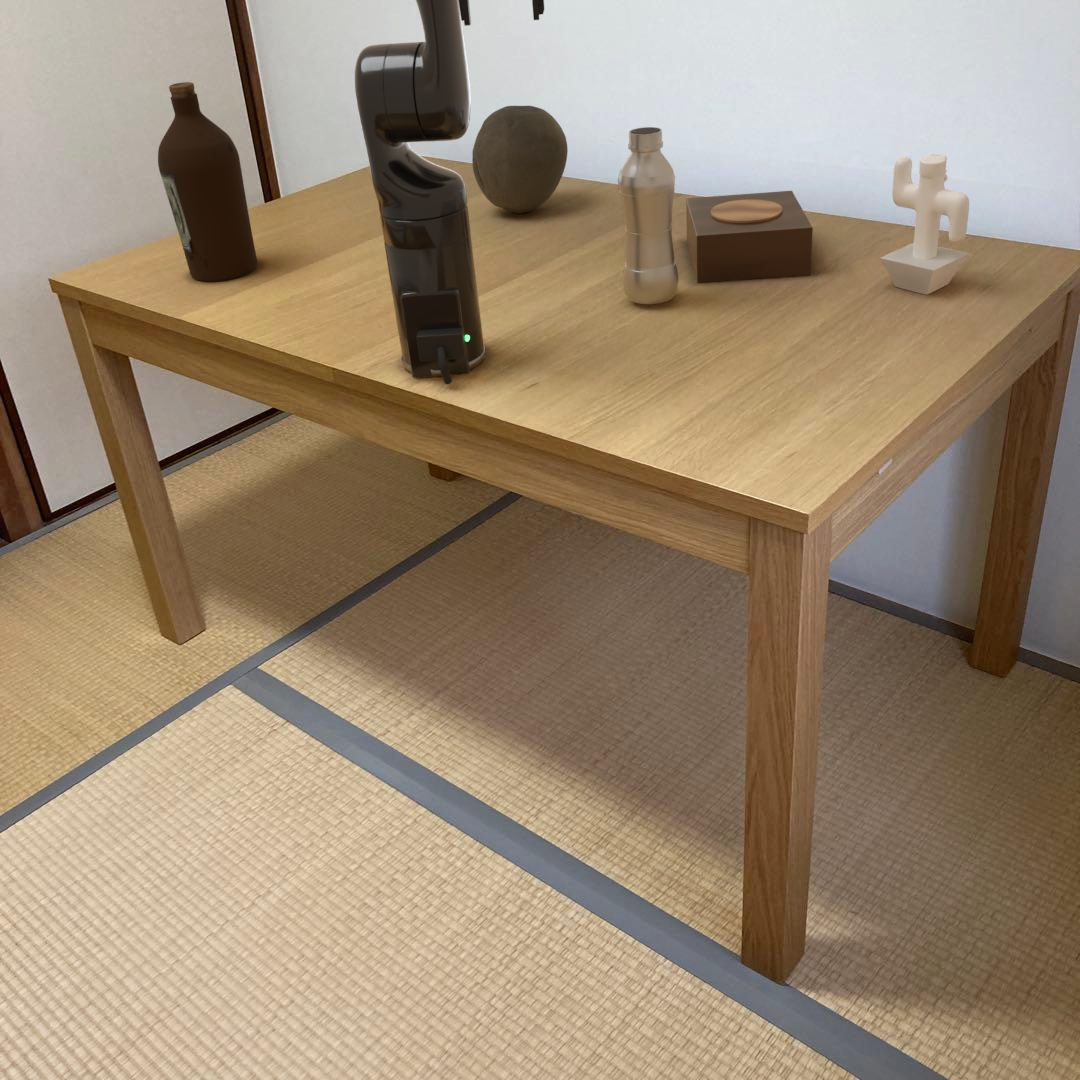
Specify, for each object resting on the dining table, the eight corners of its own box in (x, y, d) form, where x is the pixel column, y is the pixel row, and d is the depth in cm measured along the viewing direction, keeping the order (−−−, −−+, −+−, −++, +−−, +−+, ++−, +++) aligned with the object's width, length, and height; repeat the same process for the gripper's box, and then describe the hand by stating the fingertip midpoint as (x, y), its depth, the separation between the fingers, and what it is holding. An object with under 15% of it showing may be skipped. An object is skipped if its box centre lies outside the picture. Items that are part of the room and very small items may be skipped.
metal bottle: (676, 310, 137) (672, 137, 126) (619, 310, 138) (611, 139, 128) (681, 290, 142) (678, 122, 132) (627, 291, 144) (619, 125, 133)
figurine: (938, 303, 132) (953, 170, 124) (869, 285, 139) (879, 158, 131) (974, 285, 136) (990, 155, 128) (905, 268, 142) (916, 144, 134)
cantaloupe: (556, 223, 169) (548, 117, 161) (465, 223, 173) (453, 119, 165) (580, 195, 181) (574, 95, 173) (495, 195, 184) (485, 97, 176)
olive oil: (257, 253, 169) (217, 72, 156) (267, 274, 160) (226, 85, 147) (183, 266, 166) (136, 84, 153) (189, 289, 158) (141, 97, 145)
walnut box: (810, 275, 143) (813, 225, 140) (697, 283, 144) (696, 233, 141) (790, 234, 157) (792, 188, 153) (686, 242, 158) (686, 195, 154)
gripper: (425, -123, 132) (442, 31, 140) (550, -134, 131) (560, 21, 139) (431, -125, 138) (447, 22, 146) (550, -136, 137) (559, 13, 146)
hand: (502, 22), depth 143 cm, fingers open, 8 cm apart
